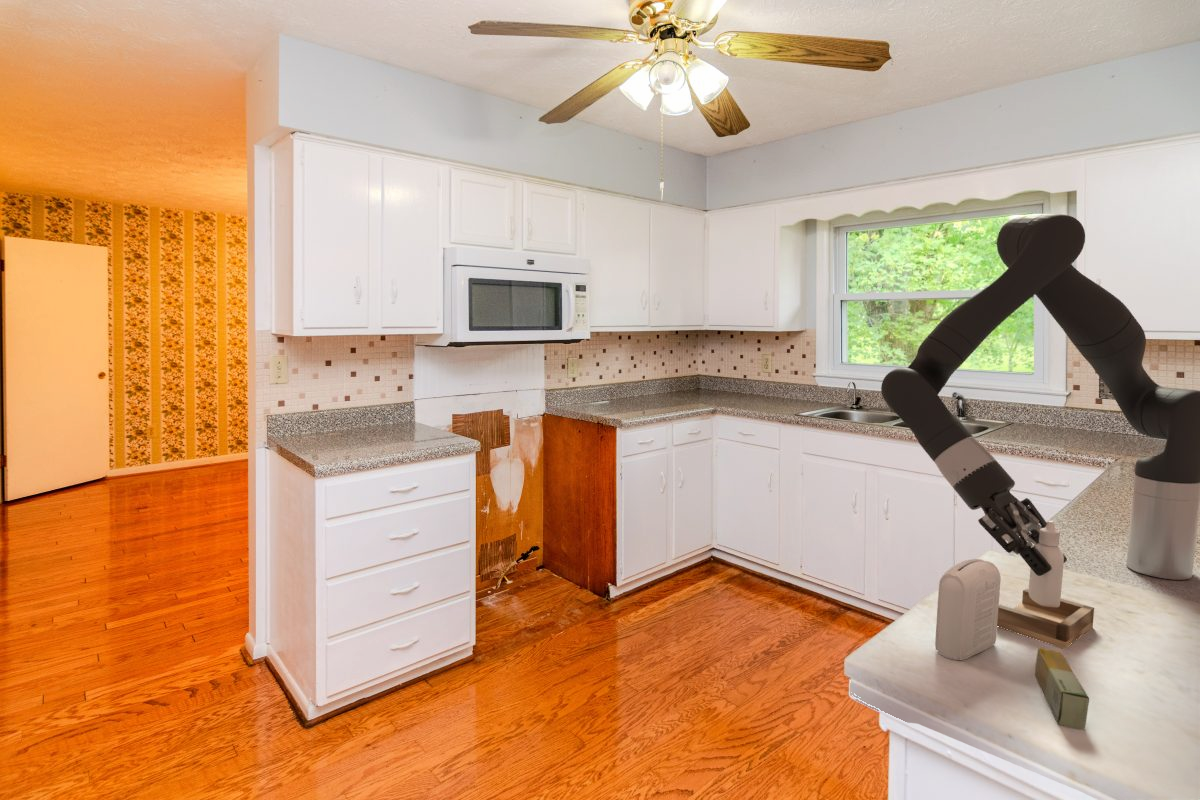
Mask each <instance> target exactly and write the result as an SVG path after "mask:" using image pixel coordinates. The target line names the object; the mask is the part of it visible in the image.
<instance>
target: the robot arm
mask: <svg viewBox="0 0 1200 800" xmlns="http://www.w3.org/2000/svg"><path fill="white" fill-rule="evenodd" d="M1085 231H1086V230H1085V229H1084V226H1083V224H1082V222H1081V221H1080V220H1078V219H1077V218H1076V217H1074V216H1072V215H1067V214H1062V213H1030V214H1021V215H1018V216H1015V217H1012V218H1011V219H1009V220H1008V221H1006V222H1005V223H1004V224H1003V225H1002V226H1001V229H1000V230H999V232H998V234H997V239H996V248H997V249H996V250H997V253H998V256H999V258H1000V259H1001V261H1002V262H1003V264H1004V265H1005V266H1006V267H1007V269H1006V270H1005V271H1004V272H1003V273H1002V274H1001V275H1000V276H999V277H997V278H996V279H995V280H994V281H993V282H992V283H990V284H989V285H988V286H986V287H985V288H984V289H982V290H981V291H979V292H978V293H976V294H974V295H973V296H970V297H969V299H967V300H965V301H964V302H962V303H960V304H959V305H958V306H956V307H955V308H954V309H952V311H950V312H949V313H948V314H947V315H945V317H944V318H943V319H942V320H940V322H939V323H938V324H937V325H936V326H935V327H934V329H933V330H932V331H931V332H930V333H929V334H928V335H926V337H925V339H924V340H923V341H922V342H921V344H920V345H919V347H918V348H917V352H916V356H915V358H914V359H912V362H911V363H910V364H909V365H908V367H899V368H895V369H893V370H891V371H889V372H888V373H887V374H886V375H885V376H884V378H883V380H882V383H881V386H880V390H881V391H880V392H881V396H882V398H883V400H884V402H885V404H887V406H888V408H889V409H890V410H891V412H893V414H895V415H897V416H898V417H899V419H900V420H902V421H903V423H904V424H905V425H906V426H907V427H908V428H909V429H910V430H911V432H912V433H913V435H914V437H915V439H916V441H917V443H918V444H919V445H920V446H921V448H922V449H923V450H924V451H925V453H926V454H927V455H928V457H929V458H930V459H931V460H932V461H933V462H934V464H935V465H936V467H937V468H938V470H939V472H940V474H941V475H942V476H943V477H944V479H945V480H946V481H947V482H948V483H949V485H950V486H951V487H952V489H953V490H954V491H955V492H956V493H957V495H958V496H959V497H960V498H961V500H962V501H963V502H964V503H965V504H966V506H967V507H968V508H969V509H970V510H972V511H975V510H979V509H981V510H982V511H983V513H984V515H983V516H982V517H981V518H979V519H978V520H977V521H978V523H979V524H980V525H981V526H982V528H983V529H984V530H985V531H986V532H987V533H988V534H989V535H990V536H991V537H992V538H993V539H994V540H995V541H996V542H997V543H998V545H999V546H1000V547H1001V548H1002V549H1003V550H1004V551H1005V552H1006V553H1008V554H1010V553H1012V552H1013V553H1014V554H1016V555H1019V556H1020V557H1021V559H1023V561H1024V562H1025V563H1026V564H1027V565H1028V567H1029V568H1031V569H1032V570H1033V571H1034V573H1035V574H1036V575H1038V576H1041V575H1043V574H1045V573H1047V572H1049V571H1050V570H1051V569H1052V567H1051V565H1050V564H1049V563H1048V562H1047V561H1046V559H1045V558H1044V557H1043V556H1042V555H1041V554H1040V552H1039V551H1038V550H1037V549H1036V548H1035V546H1034V545H1035V544H1037V543H1039V534H1040V529H1041V528H1045V527H1046V525H1047V522H1048V521H1046V519H1045V518H1044V517H1043V515H1041V513H1040V512H1039V510H1038V509H1037V508H1036V506H1035V505H1034V504H1033V501H1032V500H1031V499H1030V498H1027V497H1026V498H1024V499H1023V500H1019V499H1018V498H1017V497H1015V496H1014V495H1013V494H1012V493H1011V492H1010V491H1011V490H1012V489H1013V488H1014V487H1015V485H1016V482H1015V480H1014V479H1013V478H1012V477H1011V476H1010V474H1009V473H1008V472H1007V471H1006V470H1005V469H1004V467H1003V466H1002V465H1001V464H1000V463H999V461H997V460H996V459H995V457H994V456H993V455H992V454H991V452H990V451H989V450H988V448H986V447H985V446H984V445H983V444H982V443H980V442H979V441H978V440H977V439H976V438H975V437H974V436H973V435H972V433H970V431H969V430H968V429H967V428H966V427H965V425H964V424H963V423H962V422H961V421H960V419H958V418H957V417H956V416H955V415H954V414H953V413H952V412H951V411H950V410H949V409H948V407H947V406H946V404H945V403H944V401H943V400H942V399H941V398H940V396H939V394H940V392H941V391H942V390H943V388H944V387H945V385H946V384H947V383H948V381H949V379H950V378H951V377H952V375H953V374H954V372H955V371H956V370H957V369H959V368H960V367H961V366H962V364H963V363H964V362H965V361H967V360H968V358H969V357H970V356H971V355H972V354H973V353H974V352H975V350H976V349H977V348H978V347H980V345H981V344H983V342H984V341H985V340H986V339H987V338H988V337H989V336H990V334H991V333H993V331H995V329H996V328H998V326H1000V325H1001V324H1002V323H1003V322H1004V321H1006V319H1008V318H1009V317H1010V316H1011V315H1012V314H1014V312H1015V311H1017V310H1018V309H1019V308H1020V307H1022V306H1023V305H1024V304H1025V303H1027V301H1029V300H1030V299H1031V298H1033V297H1034V295H1035V296H1036V297H1037V299H1038V300H1039V301H1040V302H1041V304H1042V305H1043V306H1044V307H1045V309H1046V310H1047V311H1048V313H1049V314H1050V316H1051V317H1052V318H1053V320H1055V321H1056V323H1057V324H1058V325H1059V327H1060V328H1061V329H1062V331H1064V333H1065V334H1066V336H1067V338H1068V339H1069V340H1070V342H1071V343H1072V344H1073V346H1074V347H1075V348H1076V349H1077V350H1078V352H1079V353H1080V355H1082V357H1083V358H1084V359H1085V360H1086V361H1087V362H1088V363H1089V364H1090V366H1091V367H1092V369H1093V370H1094V371H1095V372H1096V374H1097V375H1098V376H1099V378H1100V379H1101V381H1102V382H1103V383H1104V384H1105V387H1106V388H1107V389H1108V390H1109V392H1110V394H1111V395H1112V397H1113V398H1114V400H1115V401H1116V403H1117V406H1118V407H1119V408H1120V410H1121V413H1122V414H1123V416H1124V417H1125V419H1126V421H1127V422H1128V423H1129V425H1130V426H1131V427H1132V428H1133V430H1134V431H1136V432H1137V433H1139V434H1140V435H1143V436H1146V437H1149V438H1153V439H1160V440H1161V439H1162V440H1166V443H1165V446H1164V449H1163V451H1162V452H1161V453H1159V454H1157V455H1154V456H1153V455H1152V456H1146V457H1145V456H1144V457H1141V458H1140V457H1139V458H1138V459H1137V460H1136V462H1135V466H1134V475H1133V476H1134V477H1133V486H1132V487H1133V488H1132V498H1131V509H1130V520H1129V521H1130V522H1129V529H1128V531H1129V532H1128V540H1127V541H1128V542H1127V552H1126V566H1127V568H1128V569H1130V570H1132V571H1134V572H1136V573H1138V574H1143V575H1147V576H1151V577H1155V578H1159V579H1167V580H1177V581H1178V580H1179V581H1180V580H1181V581H1182V580H1190V579H1192V577H1193V573H1194V571H1193V570H1194V562H1195V553H1196V545H1197V536H1198V535H1197V534H1198V526H1199V525H1198V524H1199V515H1200V390H1197V389H1188V388H1177V387H1176V388H1175V387H1165V386H1161V385H1159V384H1157V383H1156V382H1155V381H1154V380H1153V379H1152V378H1151V376H1149V374H1148V372H1147V371H1146V370H1145V369H1144V367H1143V359H1144V355H1145V351H1146V344H1147V338H1146V333H1145V331H1144V329H1143V327H1142V325H1140V323H1139V322H1138V320H1137V319H1136V318H1135V316H1134V315H1133V313H1132V312H1131V310H1130V308H1128V307H1127V305H1126V304H1124V302H1123V301H1121V300H1120V299H1119V298H1118V297H1117V296H1115V295H1114V294H1112V292H1110V291H1108V290H1107V289H1106V288H1104V287H1102V286H1101V285H1100V284H1098V283H1097V282H1095V281H1093V280H1091V279H1090V278H1089V277H1087V276H1086V275H1084V274H1083V273H1081V272H1080V271H1079V270H1077V268H1076V267H1074V265H1072V264H1073V263H1074V262H1075V261H1076V260H1077V258H1078V257H1079V256H1080V255H1081V253H1082V251H1083V249H1084V246H1085V243H1086V232H1085ZM1063 556H1064V564H1065V563H1066V562H1067V561H1068V558H1067V557H1066V556H1065V554H1064V553H1063Z"/></svg>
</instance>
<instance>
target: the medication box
mask: <svg viewBox="0 0 1200 800" xmlns="http://www.w3.org/2000/svg"><path fill="white" fill-rule="evenodd" d="M1035 661H1036V662H1035V667H1034V668H1035V669H1034V676H1035V677H1034V678H1035V679H1036V682H1037V683H1038V685H1039V688H1040V691H1041V692H1042V694H1043V697H1044V699H1045V700H1046V702H1047V705H1048V707H1049V709H1050V711H1051V713H1052V716H1053V717H1054V719H1055V721H1056V724H1057V725H1058V726H1060V727H1065V728H1068V729H1074V730H1083V731H1085V730H1086V724H1087V723H1086V722H1087V717H1088V710H1089V703H1090V697H1089V695H1088V694H1087V693H1086V691H1085V688H1084V687H1083V685H1082V684H1081V682H1080V681H1079V679H1078V677H1077V676H1076V675H1075V673H1074V671H1073V669H1072V668H1071V667H1070V664H1069V663H1068V661H1067V659H1066V658H1065V657H1064V655H1063V653H1062V652H1061V651H1058V650H1052V649H1049V648H1044V647H1043V648H1042V647H1037V653H1036V660H1035Z"/></svg>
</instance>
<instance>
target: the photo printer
mask: <svg viewBox="0 0 1200 800" xmlns="http://www.w3.org/2000/svg"><path fill="white" fill-rule="evenodd" d="M1001 580H1002V579H1001V572H1000V571H999V569H998V567H997V566H996V564H994V562H990V561H986V560H983V559H979V558H972V559H968V560H963V561H961V562H958V563H956V564H955V565H953V566H952V567H950V568H949V569H948V570H947V571H945V572H944V573H943V575H942V576H941V577H940V579H939V583H938V596H937V608H936V609H937V610H936V611H937V612H936V622H935V623H936V625H935V626H936V627H935V642H934V645H935V650H936V651H937V652H938V653H939V654H940V655H941V656H943V657H945V658H947V659H950V660H955V661H959V660H960V661H961V660H965V659H968V658H971V657H972V656H974V655H977V654H979V653H981V652H983V651H986V650H987V649H990V648H991V647H992V646H994V645H995V644H996V641H997V637H998V636H997V633H998V627H997V621H998V608H999V605H1000V593H1001V592H1000V590H1001Z"/></svg>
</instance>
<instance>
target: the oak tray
mask: <svg viewBox="0 0 1200 800" xmlns="http://www.w3.org/2000/svg"><path fill="white" fill-rule="evenodd" d="M1028 590H1029V588H1025V589H1023V590H1022V599H1021V603H1020V604H1018V605H1016V606H1015V607H1013V608H1012V607H1009V606H1006V605H1002V604H999V608H998V621H997V626H999V627H1002V628H1005V629H1008V630H1011V631H1013V632H1012V633H1014V632H1016V633H1015V634H1017V633H1019V634H1018V635H1020V634H1022V635H1021V636H1023V635H1024V636H1023V637H1026V636H1028V637H1027V638H1029V637H1031V638H1030V639H1033V638H1034V639H1033V640H1036V639H1037V640H1036V641H1039V640H1040V641H1039V642H1042V641H1043V642H1042V643H1045V642H1046V643H1045V644H1048V643H1049V644H1048V645H1051V644H1052V645H1051V646H1054V645H1055V646H1054V647H1057V646H1058V647H1057V648H1060V647H1061V648H1060V649H1063V648H1064V649H1063V650H1066V649H1068V648H1069V647H1070V646H1071V645H1072V644H1074V643H1075V642H1076V641H1077V640H1079V639H1080V638H1081V637H1082V636H1084V635H1085V634H1086V633H1087V632H1089V631H1090V630H1091V629H1092V628H1093V627H1094V618H1095V607H1093V606H1088V605H1085V604H1082V603H1079V602H1075V601H1071V600H1068V599H1064V598H1061V599H1060V606H1059V607H1046V606H1042V605H1039V604H1038V603H1036V602H1034V601H1033V600H1032V599H1031V598H1030V597H1029V594H1028ZM999 627H998V628H999ZM1091 627H1092V628H1091ZM1002 628H1001V629H1002ZM1090 628H1091V629H1090ZM1005 629H1004V630H1005ZM1089 629H1090V630H1089ZM1008 630H1007V631H1008ZM1088 630H1089V631H1088ZM1011 631H1010V632H1011ZM1086 631H1087V632H1086ZM1085 632H1086V633H1085ZM1084 633H1085V634H1084ZM1083 634H1084V635H1083ZM1081 635H1082V636H1081ZM1080 636H1081V637H1080ZM1079 637H1080V638H1079ZM1078 638H1079V639H1078ZM1076 639H1077V640H1076ZM1075 640H1076V641H1075ZM1074 641H1075V642H1074ZM1073 642H1074V643H1073ZM1071 643H1072V644H1071ZM1070 644H1071V645H1070ZM1069 645H1070V646H1069ZM1068 646H1069V647H1068Z"/></svg>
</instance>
